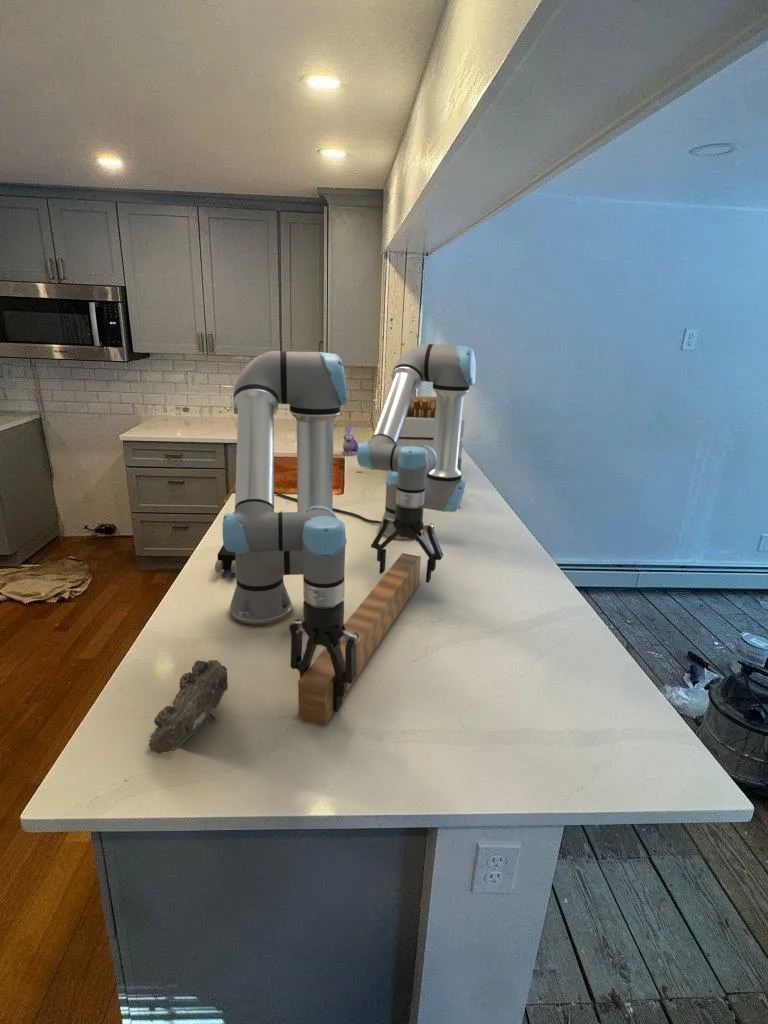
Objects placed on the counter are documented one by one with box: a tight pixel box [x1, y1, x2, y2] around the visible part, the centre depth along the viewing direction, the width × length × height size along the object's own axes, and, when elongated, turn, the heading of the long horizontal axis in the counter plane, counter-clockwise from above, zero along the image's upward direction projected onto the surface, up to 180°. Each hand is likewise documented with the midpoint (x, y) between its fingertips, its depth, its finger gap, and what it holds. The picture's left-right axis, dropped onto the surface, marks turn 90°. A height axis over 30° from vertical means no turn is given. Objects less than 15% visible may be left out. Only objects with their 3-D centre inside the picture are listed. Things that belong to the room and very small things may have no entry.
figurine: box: [342, 424, 359, 456], centre depth 303 cm, size 9×10×15 cm
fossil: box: [148, 659, 229, 754], centre depth 106 cm, size 22×10×15 cm
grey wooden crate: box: [396, 395, 465, 473], centre depth 268 cm, size 34×33×41 cm
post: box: [297, 552, 422, 726], centre depth 135 cm, size 64×6×8 cm, turn 161°
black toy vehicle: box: [214, 544, 236, 578], centre depth 166 cm, size 7×8×15 cm
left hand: (322, 703), depth 112 cm, fingers closed on post, 6 cm apart
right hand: (404, 576), depth 159 cm, fingers open, 13 cm apart
